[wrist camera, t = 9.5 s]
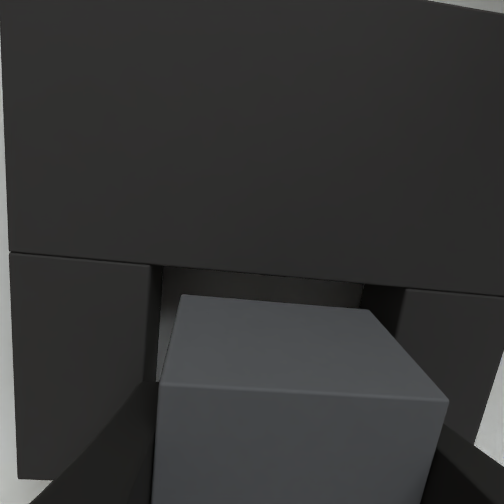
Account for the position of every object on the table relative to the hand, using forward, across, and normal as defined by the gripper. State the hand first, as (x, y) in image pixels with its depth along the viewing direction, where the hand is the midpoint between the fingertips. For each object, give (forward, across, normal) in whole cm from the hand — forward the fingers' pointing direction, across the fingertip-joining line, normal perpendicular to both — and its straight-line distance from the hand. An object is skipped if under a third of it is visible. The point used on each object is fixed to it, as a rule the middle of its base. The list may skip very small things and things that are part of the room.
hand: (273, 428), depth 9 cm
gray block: (+1, 0, 0) cm, 1 cm away
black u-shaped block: (+4, 0, -3) cm, 5 cm away
